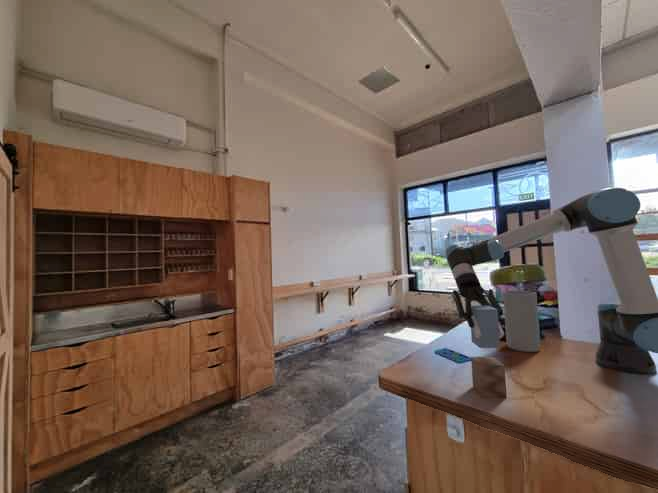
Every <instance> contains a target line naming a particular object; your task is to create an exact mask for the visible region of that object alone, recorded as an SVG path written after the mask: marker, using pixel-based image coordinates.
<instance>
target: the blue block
mask: <svg viewBox="0 0 658 493" xmlns="http://www.w3.org/2000/svg"><path fill="white" fill-rule="evenodd" d="M470 307H471V316H474V317H475V319H476V322H477V324H478V327H479V329H480V332H481V336H480V338H476V336H475V333H474V330H473V328H470V334H471V336H470V337H471V343H473V344H474V345H475V346H477V347H478V348H480V349H500V348H501V342H500V341H501V340H500V339H501V338H499V322H498V309H496V308H493V307H491V306H482V305H471V306H470Z"/></svg>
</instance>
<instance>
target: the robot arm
mask: <svg viewBox="0 0 658 493" xmlns="http://www.w3.org/2000/svg"><path fill="white" fill-rule="evenodd" d="M640 210H641V201H640V199H639V197H638V196H637V194H636V193H634V192H633V191H631V190H629V189H627V188H623V187H607V188H602V189H599V190H596V191H594V192H591V193H588V194H586V195H585V194H584V195H583V196H581V197H579V198H576V199H575V200H572V201H571V202H569V203H567V204H565V205H563V206H560V207H559V208H556V209H554V210H553V211H552V213H550V214H549V215H545V216H543V217H540V218H538V219H535V220H533V221H530V222H528V223H526V224H522V225H520V226H518V227H516V228H513V229H511V230H508V231H505V232H503V233H501V234H497V235H496V236H492V237H491V238H488V239H486V240H482V241H480V242H478V243H474V244H472V245H471V246H467V247H464V246H463V245H461V244H456V243H454V244H452V245H450V246H448V247H447V248H446V249H445V252H444V253H445V258H446V261H447V264H448V266H449V269H450V271H451V274H452V276H453V279H454V282H455V284H456V287H457V289H458V290H456V289H455V290H454V289H453V291H452V294H451V297H452V298H453V300H454V303H455V306H456V310H457V313H458V317H459V318H460V319H464V320H465V321H466V322H467V324H468V327H469V328H470V329H471V328H473V330H474V333H475V336H476V338H480V336H481V332H480V329H479V327H478V324H477V322H476V319H475V317H474V316H471V307H470V306H472V302H473V301H475V302H476V301H477V303H478V304H480V306H491V307H493V308H496V309H498V322H499V338H500V339H502V338H503V336H504V335H505V332H504V330H503V327H502V326H503V322H502V320H501V317H502V316H503V315H504V310H503V308H502V307H501V305H500V303H499V302H498V300H497V298H496V297H495V295H494V290H493V289H492V288H489V289H485V288H484V287H482V285H481V282H480V280H479V277H478V275H477V274H476V271H475V269H474V266H476V265H482V264H485V263H490V262H494V261H497V260H500V259H501V260H502V259H503V258H504V257H505V253H506V252H508V251H511V250H514V249H517V248H521V247H523V246H525V245H528V244H530V243H533V242H537V241H538V240H541V239H544V238H547V237H549V236H552V235H554V234H558V233H561V232H571V231H574V230H576V229H581V228H586V227H587V229H588V233H589V234H591V235H593V236H595V237H596V238H597V241H598V244H599V246H600V250H601V253H602V255H603V258H604V261H605V264H606V267H607V270H608V272H609V276H610V278H611V281H612V284H613V287H614V290H615V292H616V295H617V298H618V301H619V302H600V303H599V304H598V305H597V311H596V312H597V316H598V317H597V318H598V329H599V337H600V338H599V339H600V341H599V345H598V347H597V349H596V352H595V355H594V356H595V361H596V363H597V364H599V365H601V366H603V367H606V368H609V369H612V370H616V371H618V372H619V371H620V372H625V373H631V374H640V375H650V374H651V375H653V374H655V373H656V372H657V365H656V363H655V360H654V359H653V357H652V355H651V353H654V354H658V295H657V294H656V290H655V288H654V285H653V281H652V280H651V277H650V273H649V271H648V267H647V265H646V262H645V260H644V256H643V255H642V251H641V249H640V246H639V243H638V241H637V237H636V235H635V233H634V229H635V228H636V226H637V225H638V224H639V223H638V220H637V218H636V216H637V215H638V212H640ZM461 297H463V298H464V303H465V304H464V305H465V307H464V306H463V302H462V299H461ZM464 308H465V309H464ZM650 352H651V353H650Z"/></svg>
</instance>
